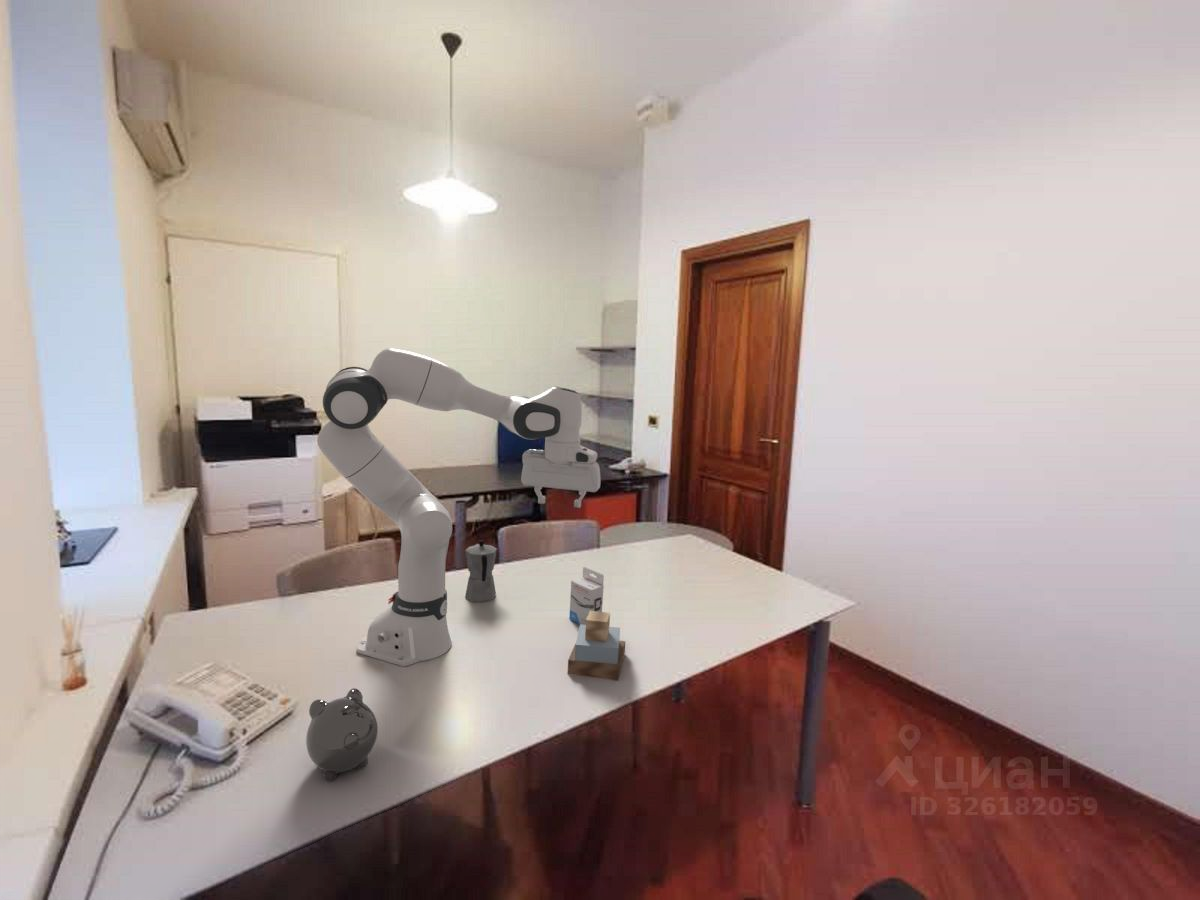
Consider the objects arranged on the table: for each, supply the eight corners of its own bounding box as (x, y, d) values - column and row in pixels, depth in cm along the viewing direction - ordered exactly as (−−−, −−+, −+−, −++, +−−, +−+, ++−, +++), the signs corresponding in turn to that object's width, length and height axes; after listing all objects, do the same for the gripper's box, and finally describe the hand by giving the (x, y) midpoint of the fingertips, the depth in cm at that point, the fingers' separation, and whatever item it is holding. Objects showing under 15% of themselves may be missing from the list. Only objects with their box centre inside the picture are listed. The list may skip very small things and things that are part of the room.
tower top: (574, 660, 127) (575, 644, 126) (579, 639, 137) (580, 624, 136) (617, 664, 126) (618, 648, 126) (619, 642, 136) (619, 627, 135)
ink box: (568, 619, 155) (570, 570, 152) (580, 614, 158) (582, 566, 156) (589, 630, 149) (592, 579, 147) (602, 624, 152) (604, 574, 150)
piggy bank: (363, 728, 105) (362, 674, 104) (388, 775, 94) (387, 715, 92) (299, 751, 99) (296, 693, 97) (317, 805, 87) (315, 741, 85)
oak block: (585, 639, 129) (585, 619, 128) (589, 629, 134) (589, 610, 133) (605, 642, 128) (606, 622, 127) (609, 632, 133) (609, 612, 132)
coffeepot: (463, 588, 172) (463, 534, 169) (493, 586, 175) (494, 532, 172) (467, 610, 157) (468, 550, 154) (500, 606, 160) (501, 548, 157)
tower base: (567, 675, 128) (568, 659, 127) (578, 649, 139) (579, 635, 139) (617, 683, 126) (618, 667, 125) (624, 656, 137) (625, 641, 137)
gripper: (518, 449, 135) (516, 503, 137) (599, 457, 132) (595, 512, 134) (526, 446, 141) (524, 498, 143) (603, 453, 138) (600, 506, 140)
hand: (559, 505), depth 139 cm, fingers open, 8 cm apart
